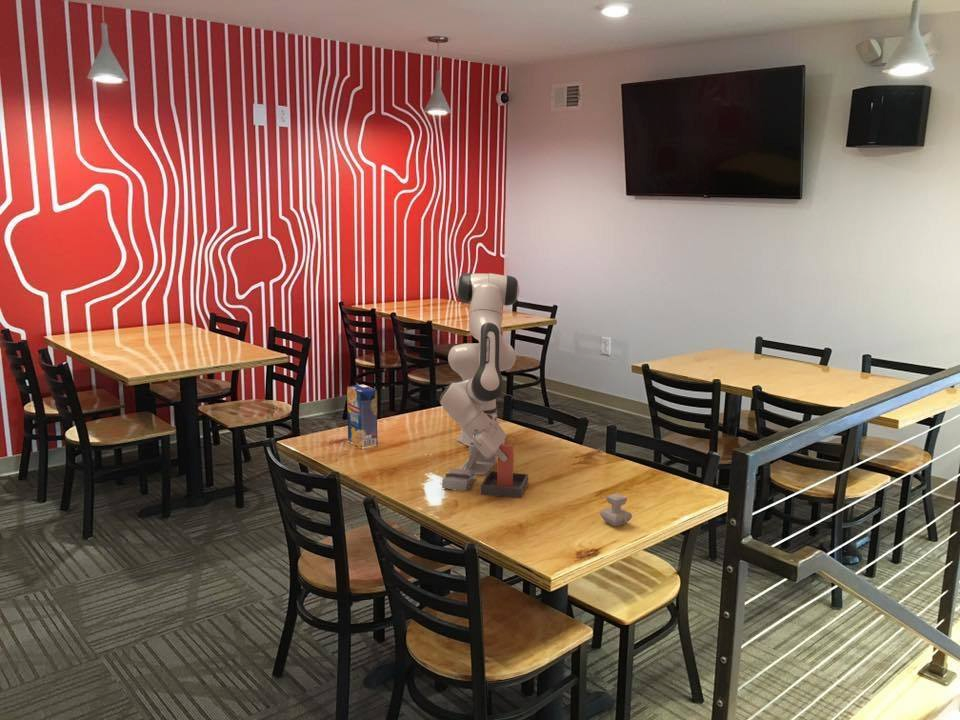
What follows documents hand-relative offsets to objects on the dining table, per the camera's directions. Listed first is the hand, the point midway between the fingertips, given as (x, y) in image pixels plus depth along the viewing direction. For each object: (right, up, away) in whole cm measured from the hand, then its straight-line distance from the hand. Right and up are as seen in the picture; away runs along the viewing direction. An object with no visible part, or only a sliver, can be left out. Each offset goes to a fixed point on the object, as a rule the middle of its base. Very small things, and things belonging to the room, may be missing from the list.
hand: (507, 458), depth 249 cm
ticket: (-1, -10, +2) cm, 10 cm away
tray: (-1, -10, +2) cm, 10 cm away
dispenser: (-16, -9, +6) cm, 19 cm away
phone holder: (-10, -6, +23) cm, 26 cm away
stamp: (+30, -16, -24) cm, 42 cm away
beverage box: (-54, -1, +46) cm, 71 cm away
